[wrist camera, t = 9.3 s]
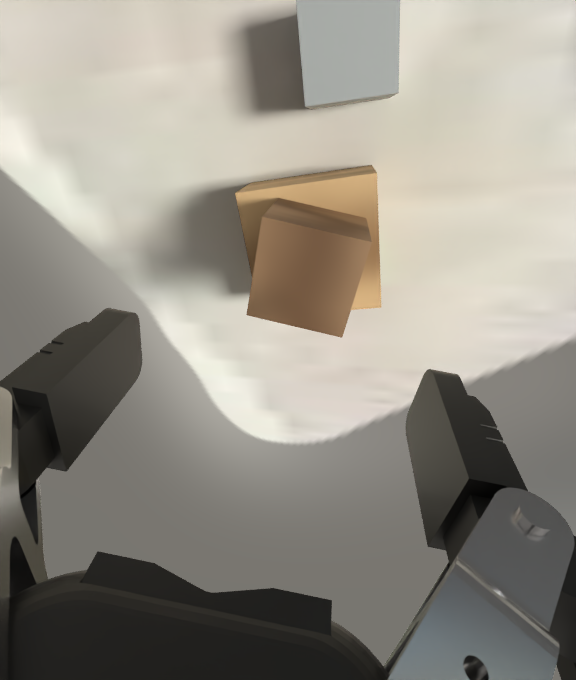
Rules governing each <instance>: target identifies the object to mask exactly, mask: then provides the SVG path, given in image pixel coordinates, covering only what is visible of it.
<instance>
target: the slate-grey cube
mask: <svg viewBox="0 0 576 680" xmlns="http://www.w3.org/2000/svg"><path fill="white" fill-rule="evenodd" d="M296 7H297V18H298V30H299V42H300V53H301V65H302V77H303V88H304V100H305V107H307V108H309V109H318V108H324V107H331V106H338V105H345V104H351V103H358V102H365V101H372V100H379V99H385V98H390V97H392V96H394V95H395V94H397V93H399V30H400V0H296Z"/></svg>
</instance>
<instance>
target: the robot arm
mask: <svg viewBox="0 0 576 680" xmlns="http://www.w3.org/2000/svg"><path fill="white" fill-rule="evenodd" d="M141 366H142V351H141V338H140V325H139V318H138V316H137V314H136V313H132V312H127V311H121V310H116V309H111V308H107V309H105V310H103V311H102V312H101V313H100V314H99V315H97V316H96V317H95V318H94V319H92V320H91V321H90V322H89V323H88V322H83V323H81V324H78V325H76V326H74V327H72V328H69V329H67V330H65V331H64V332H62V333H61V334H60V335H58V336H57V337H56V338H55V339H53V340H52V343H48V344H47V345H46V346H45V347H43V348H42V349H41V350H40V352H39V353H38V352H37V353H36V354H34V355H33V356H32V357H30V358H29V359H28V360H27V361H25V362H24V363H23V364H22V365H20V366H19V367H18V368H17V369H15V370H14V371H13V372H12V373H10V374H9V375H8V376H6V377H5V378H4V379H3V380H1V381H0V680H552V679H553V675H554V671H555V667H556V665H557V668H558V671H559V674H560V677H561V680H576V536H574V535H573V533H572V531H571V529H570V527H569V525H568V523H567V522H566V521H565V519H564V518H563V517H562V516H561V514H560V513H559V512H558V511H557V510H556V509H555V508H554V507H552V506H551V505H550V504H549V503H547V502H546V501H545V500H543V499H542V498H540V497H538V496H536V495H535V494H532V493H531V492H528V490H527V488H526V486H525V484H524V482H523V480H522V478H521V476H520V474H519V471H518V469H517V467H516V465H515V463H514V461H513V459H512V457H511V455H510V453H509V451H508V449H507V447H506V445H505V444H504V443H503V438H502V437H501V434H500V432H499V431H498V430H497V426H496V424H495V422H494V420H493V418H492V416H491V414H490V412H489V411H488V410H487V409H486V407H485V406H484V405H483V404H482V403H480V401H479V400H478V399H477V398H476V397H474V396H469V395H467V393H466V390H465V388H464V386H463V383H462V381H461V379H460V377H459V376H458V375H457V374H452V373H447V372H442V371H436V370H431V369H429V370H427V371H426V372H425V374H424V376H423V378H422V380H421V383H420V385H419V388H418V390H417V392H416V395H415V397H414V400H413V402H412V404H411V407H410V409H409V412H408V415H407V420H406V436H407V442H408V447H409V452H410V457H411V462H412V467H413V473H414V478H415V483H416V488H417V493H418V498H419V504H420V508H421V514H422V519H423V524H424V529H425V535H426V540H427V545H428V547H433V548H437V549H442V550H446V551H447V556H448V560H449V562H448V564H447V565H446V567H445V568H444V570H443V572H442V573H441V575H440V576H439V578H438V579H437V581H436V583H435V584H434V586H433V588H432V589H431V591H430V593H429V594H428V596H427V597H426V599H425V601H424V602H423V604H422V606H421V608H420V609H419V611H418V612H417V614H416V615H415V617H414V619H413V620H412V622H411V624H410V625H409V627H408V629H407V630H406V632H405V633H404V635H403V636H402V638H401V640H400V641H399V643H398V644H397V646H396V647H395V649H394V650H393V652H392V653H391V655H390V657H389V658H388V660H387V661H386V663H385V665H384V666H382V664H381V663H380V662H379V660H378V659H377V658H376V657H375V656H374V655H373V654H372V652H371V651H370V650H369V649H368V648H367V647H366V646H365V645H364V644H363V643H362V642H361V641H360V640H359V639H357V638H356V637H355V636H354V635H353V634H352V633H350V632H349V631H347V630H346V629H345V628H343V627H342V626H340V625H339V624H337V623H335V622H333V621H331V608H332V606H331V605H332V601H331V600H327V599H322V598H318V597H313V596H308V595H303V594H299V593H294V592H289V591H284V590H279V589H274V588H270V589H257V590H245V591H232V592H219V593H210V592H206V591H204V590H202V589H200V588H198V587H196V586H194V585H193V584H191V583H189V582H187V581H185V580H184V579H182V578H180V577H178V576H176V575H175V574H173V573H171V572H169V571H167V570H165V569H164V568H162V567H160V566H158V565H156V564H155V563H150V562H146V561H141V560H136V559H131V558H127V557H122V556H117V555H112V554H108V553H103V552H97V554H96V555H95V557H94V559H93V561H92V563H91V564H90V566H89V568H88V570H84V571H78V572H72V573H67V574H64V575H60V576H57V577H54V578H51V579H48V576H47V571H46V567H45V561H44V553H43V533H42V517H41V516H42V514H41V495H40V483H39V480H38V477H39V476H40V475H41V474H42V472H43V471H44V470H45V469H46V468H51V469H56V470H61V471H67V470H68V469H69V467H70V466H71V465H72V463H73V462H74V461H75V460H76V458H77V457H78V456H79V454H80V453H81V452H82V450H83V449H84V448H85V447H86V445H87V444H88V443H89V441H90V440H91V439H92V438H93V436H94V435H95V433H96V432H97V431H98V430H99V428H100V427H101V426H102V424H103V423H104V422H105V421H106V419H107V418H108V417H109V415H110V414H111V413H112V411H113V410H114V409H115V407H116V406H117V405H118V404H119V402H120V401H121V400H122V398H123V397H124V396H125V394H126V393H127V392H128V390H129V389H130V388H131V387H132V385H133V384H134V383H135V381H136V380H137V378H138V376H139V374H140V371H141Z"/></svg>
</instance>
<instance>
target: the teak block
mask: <svg viewBox="0 0 576 680" xmlns="http://www.w3.org/2000/svg"><path fill="white" fill-rule="evenodd" d="M235 195H236V200H237V205H238V210H239V215H240V220H241V225H242V230H243V235H244V239H245V244H246V249H247V254H248V259H249V264H250V269H251V274H252V278H253V271H254V265H255V259H256V252H257V246H258V240H259V233H260V227H261V221H262V216H263V215H264V214H265V213H266V212H267V210H268V209H269V208H270V207H271V206H272V205H273V204H274V202H275V201H276V200H277V199H278V198H282V199H286V200H291V201H295V202H299V203H304V204H308V205H312V206H316V207H321V208H325V209H329V210H334V211H338V212H342V213H347V214H351V215H355V216H359V217H364V218H366V220H367V224H368V228H369V232H370V236H371V240H372V244H371V247H370V250H369V253H368V257H367V260H366V263H365V266H364V269H363V272H362V276H361V279H360V282H359V285H358V288H357V292H356V295H355V298H354V301H353V304H352V308H351V310H355V309H368V308H380V307H381V285H380V255H379V225H378V195H377V172H376V171H375V169H374V168H373V166H372V165H369V166H362V167H356V168H349V169H342V170H335V171H328V172H322V173H315V174H308V175H301V176H294V177H288V178H281V179H274V180H267V181H260V182H254V183H250V184H248V185H247V186H245V187H244V188H242V189H241V190H239V191H238V192H236V193H235Z"/></svg>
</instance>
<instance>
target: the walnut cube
mask: <svg viewBox="0 0 576 680" xmlns="http://www.w3.org/2000/svg"><path fill="white" fill-rule="evenodd" d="M371 244H372V240H371V236H370V232H369V228H368V224H367V220H366V218H364V217H359V216H355V215H351V214H347V213H342V212H338V211H334V210H329V209H325V208H321V207H316V206H312V205H308V204H304V203H299V202H295V201H291V200H286V199H282V198H278V199H277V200H276V201H275V202H274V204H273V205H272V206H271V207H270V208H269V209H268V210H267V212H266V213H265V214H264V215H263V216H262V221H261V227H260V233H259V240H258V246H257V252H256V259H255V265H254V271H253V278H252V284H251V290H250V297H249V303H248V309H247V315H249V316H253V317H257V318H261V319H266V320H270V321H274V322H278V323H283V324H287V325H291V326H295V327H300V328H304V329H308V330H312V331H316V332H321V333H325V334H329V335H333V336H338V337H342V336H343V333H344V330H345V327H346V323H347V320H348V317H349V314H350V311H351V308H352V304H353V301H354V298H355V295H356V292H357V288H358V285H359V282H360V279H361V276H362V272H363V269H364V266H365V263H366V260H367V257H368V253H369V250H370V247H371Z"/></svg>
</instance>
